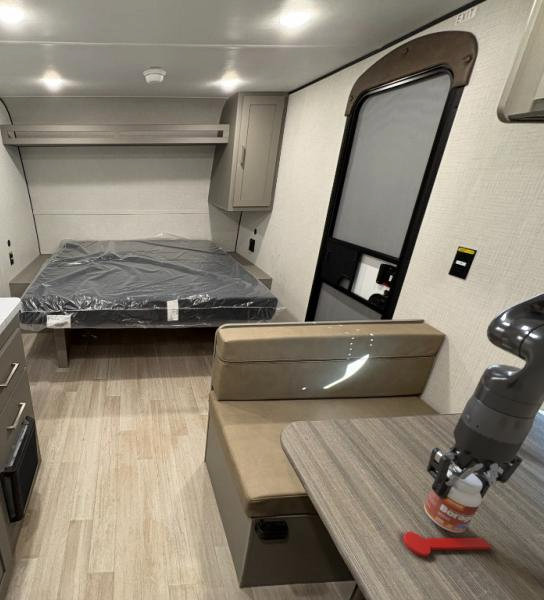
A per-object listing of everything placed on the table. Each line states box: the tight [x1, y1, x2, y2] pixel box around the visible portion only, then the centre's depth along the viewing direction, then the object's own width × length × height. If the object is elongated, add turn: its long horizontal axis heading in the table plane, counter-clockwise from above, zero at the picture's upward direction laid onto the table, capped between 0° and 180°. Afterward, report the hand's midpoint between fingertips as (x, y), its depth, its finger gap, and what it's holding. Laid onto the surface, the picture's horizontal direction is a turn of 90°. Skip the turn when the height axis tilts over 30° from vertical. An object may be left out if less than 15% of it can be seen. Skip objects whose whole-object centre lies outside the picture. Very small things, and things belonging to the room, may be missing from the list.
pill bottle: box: [424, 466, 483, 534], centre depth 60 cm, size 6×6×11 cm
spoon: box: [402, 531, 492, 558], centre depth 58 cm, size 15×4×1 cm, turn 90°
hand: (456, 494), depth 60 cm, fingers closed on pill bottle, 6 cm apart
